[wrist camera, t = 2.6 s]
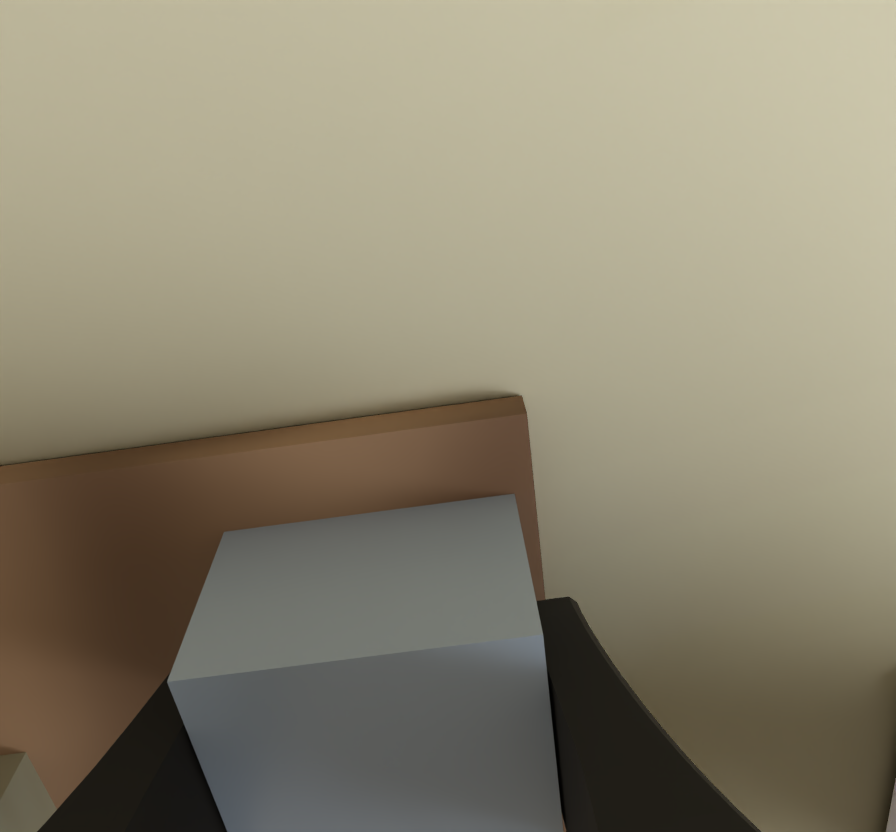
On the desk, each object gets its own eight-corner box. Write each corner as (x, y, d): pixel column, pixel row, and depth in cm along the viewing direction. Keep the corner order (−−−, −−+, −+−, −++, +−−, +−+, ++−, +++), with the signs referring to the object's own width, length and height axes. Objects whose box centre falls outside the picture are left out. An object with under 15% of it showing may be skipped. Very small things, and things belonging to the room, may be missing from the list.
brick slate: (514, 493, 12) (542, 634, 9) (538, 705, 14) (568, 872, 11) (224, 531, 12) (166, 682, 9) (289, 736, 14) (258, 907, 11)
